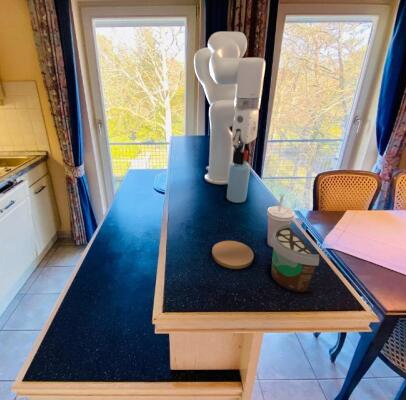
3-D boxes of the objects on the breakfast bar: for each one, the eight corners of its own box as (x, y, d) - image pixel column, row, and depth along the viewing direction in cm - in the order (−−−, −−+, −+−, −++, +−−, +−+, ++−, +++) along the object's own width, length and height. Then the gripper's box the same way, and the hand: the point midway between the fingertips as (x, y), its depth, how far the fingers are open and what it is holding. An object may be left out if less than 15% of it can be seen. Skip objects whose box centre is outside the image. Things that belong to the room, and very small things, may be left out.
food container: (257, 259, 63) (263, 223, 59) (282, 258, 64) (290, 222, 60) (279, 299, 52) (288, 258, 48) (309, 297, 53) (321, 256, 48)
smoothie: (257, 240, 71) (264, 192, 65) (276, 235, 73) (284, 188, 67) (273, 253, 66) (282, 203, 60) (293, 247, 68) (304, 198, 62)
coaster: (204, 250, 67) (204, 246, 67) (236, 240, 71) (236, 236, 71) (227, 274, 59) (228, 270, 59) (262, 261, 63) (262, 257, 62)
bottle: (222, 196, 96) (227, 150, 88) (237, 192, 98) (243, 148, 91) (234, 204, 90) (240, 156, 82) (250, 200, 93) (256, 153, 85)
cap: (244, 162, 85) (245, 152, 84) (232, 159, 87) (233, 150, 86) (248, 158, 88) (249, 149, 87) (237, 156, 90) (238, 147, 89)
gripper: (249, 107, 72) (242, 171, 80) (268, 102, 84) (260, 157, 92) (224, 105, 76) (219, 166, 84) (245, 100, 88) (240, 154, 96)
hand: (241, 161), depth 88 cm, fingers closed on cap, 3 cm apart
